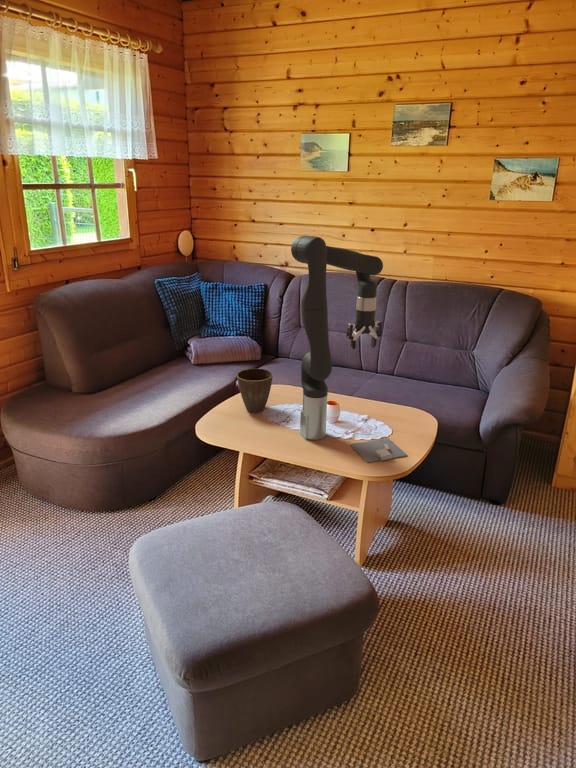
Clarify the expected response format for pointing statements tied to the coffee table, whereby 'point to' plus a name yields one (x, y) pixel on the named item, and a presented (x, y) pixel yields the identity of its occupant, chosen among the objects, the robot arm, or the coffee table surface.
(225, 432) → the coffee table surface
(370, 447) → the mat
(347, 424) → the coffee table surface
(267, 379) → the plant pot
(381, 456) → the lighter
